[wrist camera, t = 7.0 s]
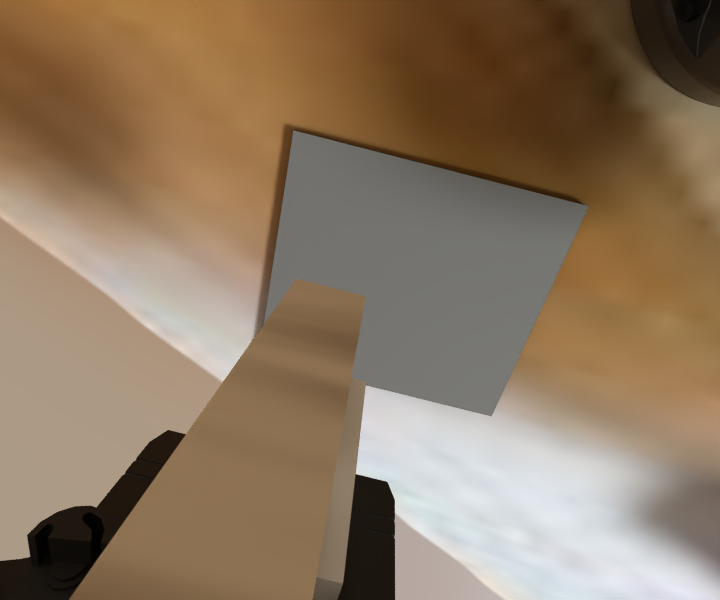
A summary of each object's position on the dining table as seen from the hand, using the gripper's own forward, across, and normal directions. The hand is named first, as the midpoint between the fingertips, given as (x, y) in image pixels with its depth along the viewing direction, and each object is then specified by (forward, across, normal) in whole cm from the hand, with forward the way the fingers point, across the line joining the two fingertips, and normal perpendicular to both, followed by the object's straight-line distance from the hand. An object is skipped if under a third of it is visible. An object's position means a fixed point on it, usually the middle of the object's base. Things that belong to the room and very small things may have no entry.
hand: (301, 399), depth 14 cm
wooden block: (+1, 0, 0) cm, 1 cm away
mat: (+14, +4, 0) cm, 15 cm away
